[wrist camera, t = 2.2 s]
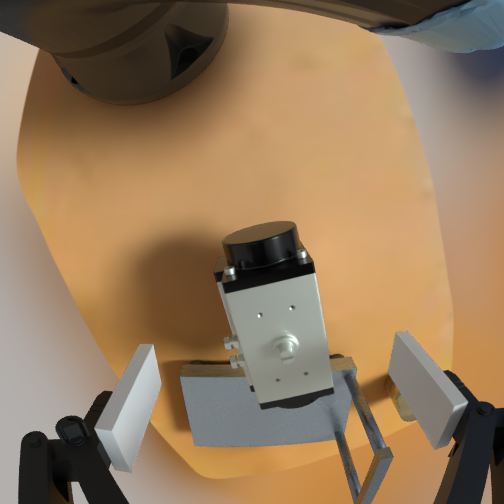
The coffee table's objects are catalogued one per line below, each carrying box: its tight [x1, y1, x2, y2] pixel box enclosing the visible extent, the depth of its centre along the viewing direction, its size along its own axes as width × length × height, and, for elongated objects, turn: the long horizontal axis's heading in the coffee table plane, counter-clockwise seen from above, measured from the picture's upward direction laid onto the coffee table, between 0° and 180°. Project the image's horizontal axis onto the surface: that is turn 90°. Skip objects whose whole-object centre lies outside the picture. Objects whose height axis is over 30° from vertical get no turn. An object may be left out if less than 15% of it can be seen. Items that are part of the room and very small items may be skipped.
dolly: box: [180, 354, 394, 504], centre depth 24 cm, size 10×16×14 cm, turn 92°
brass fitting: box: [385, 375, 417, 421], centre depth 28 cm, size 4×4×5 cm
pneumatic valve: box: [214, 221, 334, 410], centre depth 22 cm, size 6×12×12 cm, turn 14°
